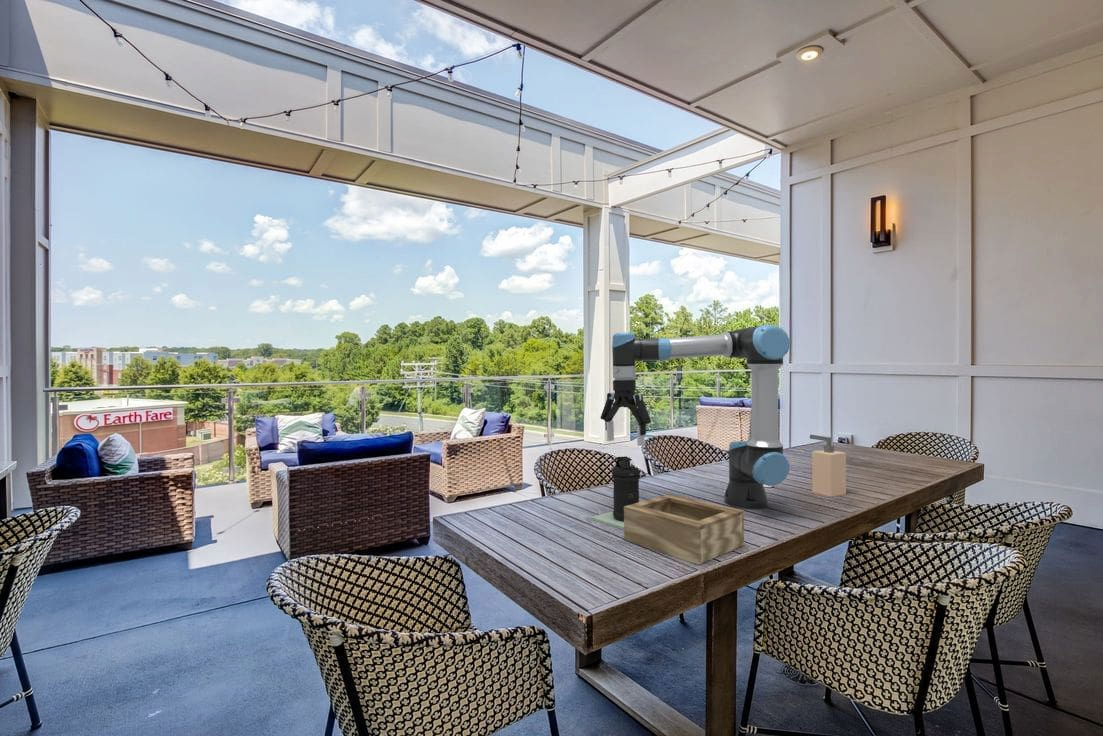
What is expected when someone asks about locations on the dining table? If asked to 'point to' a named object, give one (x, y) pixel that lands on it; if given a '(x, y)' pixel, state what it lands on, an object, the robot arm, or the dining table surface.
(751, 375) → the robot arm
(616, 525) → the board
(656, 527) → the crate
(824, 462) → the soap dispenser
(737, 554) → the dining table surface
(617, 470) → the black shaker bottle
